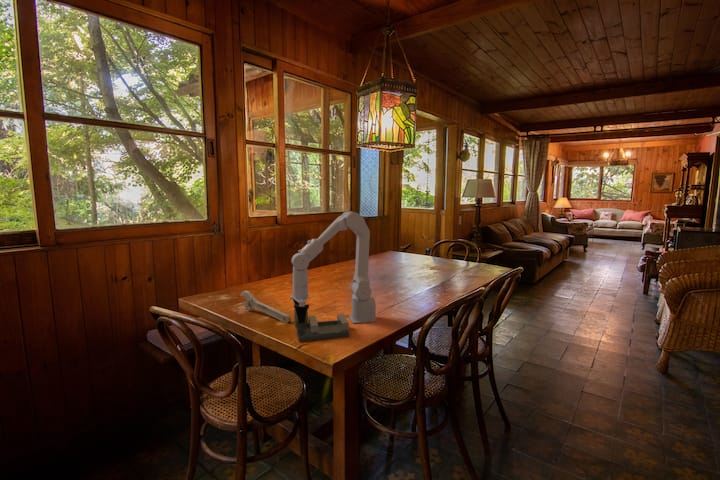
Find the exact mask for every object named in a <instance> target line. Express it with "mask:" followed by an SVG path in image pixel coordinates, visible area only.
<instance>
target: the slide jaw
mask: <svg viewBox="0 0 720 480" xmlns="http://www.w3.org/2000/svg"><path fill="white" fill-rule="evenodd" d="M317 322H318V320H317V317H316V315H310V316H309V315H308V323H309V329H310V332H311V334H316V333H318V323H317Z"/></svg>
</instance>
